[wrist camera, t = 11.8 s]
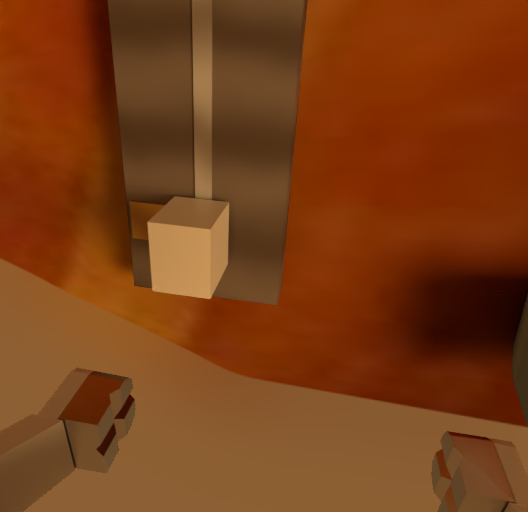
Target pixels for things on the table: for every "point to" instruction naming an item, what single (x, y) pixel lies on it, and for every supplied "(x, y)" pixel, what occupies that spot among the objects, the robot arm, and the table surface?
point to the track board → (211, 123)
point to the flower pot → (521, 361)
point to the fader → (189, 246)
